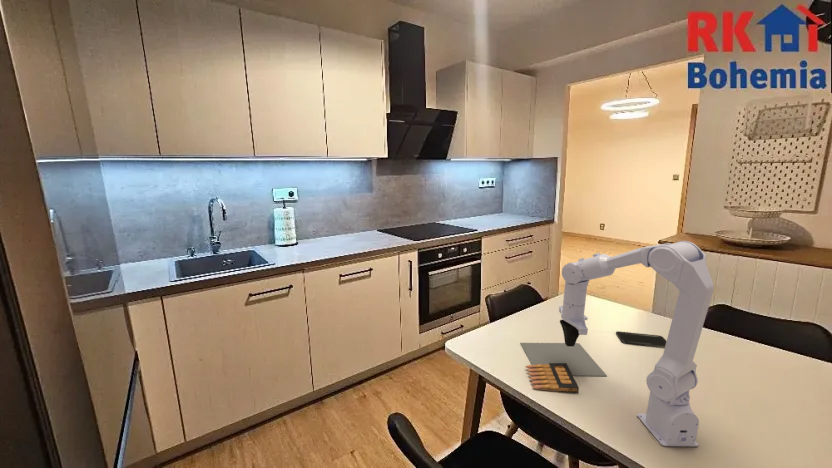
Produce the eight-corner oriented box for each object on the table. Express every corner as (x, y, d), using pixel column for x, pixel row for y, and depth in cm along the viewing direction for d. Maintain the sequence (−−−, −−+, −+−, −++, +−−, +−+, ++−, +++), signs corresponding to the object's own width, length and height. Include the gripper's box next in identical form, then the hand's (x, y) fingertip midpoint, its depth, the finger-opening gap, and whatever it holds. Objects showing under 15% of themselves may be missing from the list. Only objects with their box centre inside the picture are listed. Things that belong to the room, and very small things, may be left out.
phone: (615, 331, 125) (661, 335, 121) (614, 333, 125) (661, 338, 122) (622, 342, 117) (672, 347, 114) (622, 345, 117) (672, 350, 114)
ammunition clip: (565, 368, 103) (524, 367, 104) (566, 362, 102) (524, 362, 103) (578, 393, 92) (532, 392, 94) (579, 387, 92) (532, 386, 93)
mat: (606, 376, 100) (606, 375, 100) (537, 375, 100) (537, 374, 100) (578, 343, 117) (579, 343, 117) (520, 343, 118) (520, 342, 118)
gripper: (601, 313, 92) (595, 359, 94) (577, 292, 106) (572, 333, 109) (574, 313, 92) (569, 359, 95) (553, 292, 106) (550, 332, 109)
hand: (569, 345), depth 102 cm, fingers closed
